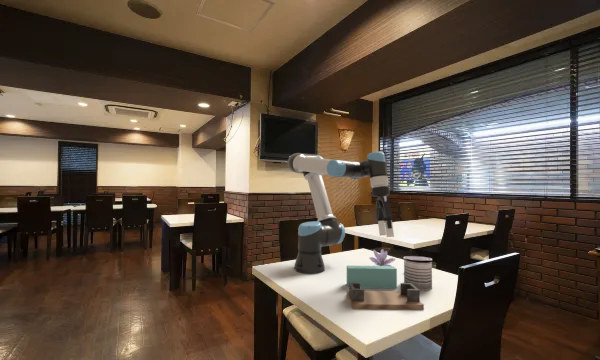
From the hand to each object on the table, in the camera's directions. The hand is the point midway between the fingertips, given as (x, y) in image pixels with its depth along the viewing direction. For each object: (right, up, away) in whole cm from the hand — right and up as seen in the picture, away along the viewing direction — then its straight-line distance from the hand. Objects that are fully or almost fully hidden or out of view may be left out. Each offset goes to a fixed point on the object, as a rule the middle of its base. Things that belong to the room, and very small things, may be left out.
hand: (386, 236), depth 116 cm
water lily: (+4, -22, +17) cm, 28 cm away
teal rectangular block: (-7, -21, -2) cm, 22 cm away
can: (+13, -21, -1) cm, 25 cm away
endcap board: (-7, -20, -18) cm, 28 cm away
